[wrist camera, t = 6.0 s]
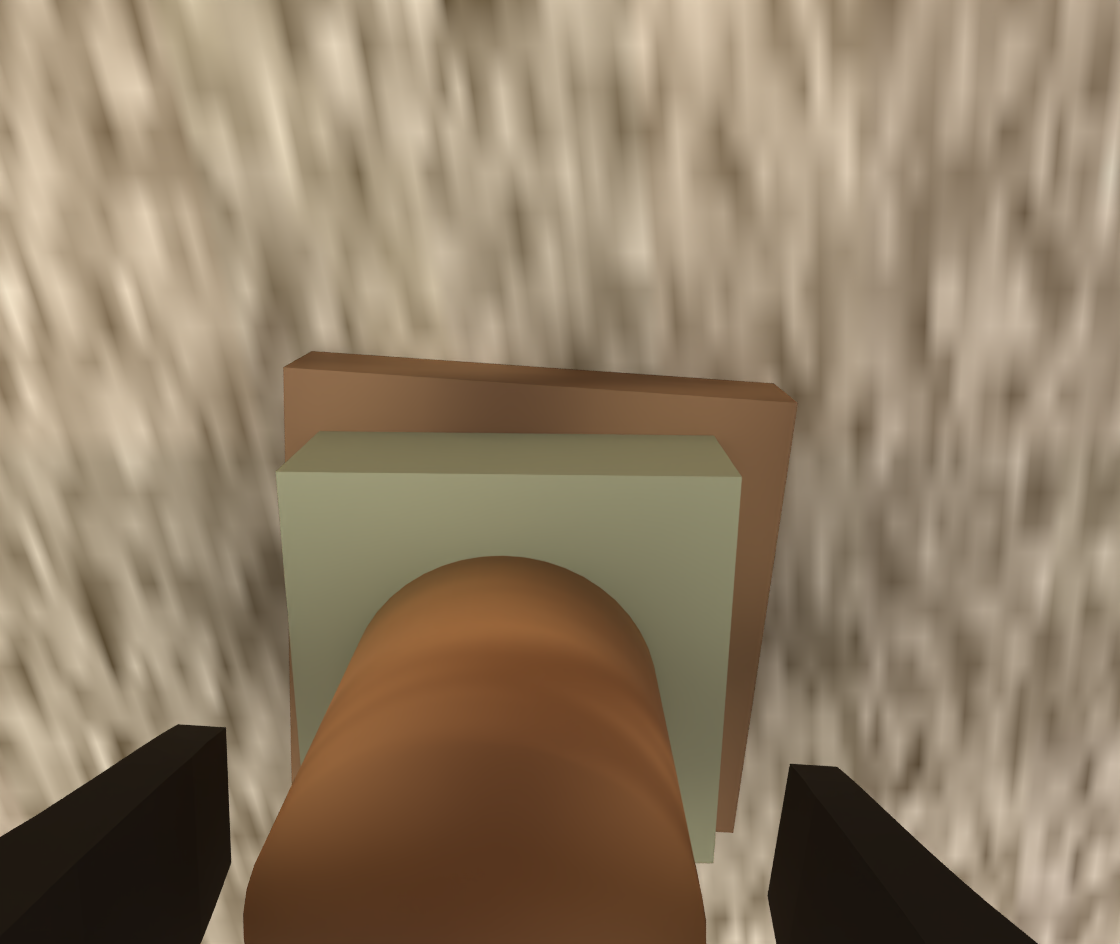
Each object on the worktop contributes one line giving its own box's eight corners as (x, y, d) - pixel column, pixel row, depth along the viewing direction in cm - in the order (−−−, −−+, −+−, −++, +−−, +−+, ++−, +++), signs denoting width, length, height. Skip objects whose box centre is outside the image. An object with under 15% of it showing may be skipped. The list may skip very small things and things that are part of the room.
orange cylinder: (716, 650, 14) (798, 875, 9) (556, 873, 15) (554, 1174, 10) (443, 497, 13) (377, 656, 9) (297, 743, 15) (167, 1003, 10)
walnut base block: (765, 376, 18) (797, 403, 15) (712, 759, 20) (733, 832, 18) (321, 346, 18) (283, 367, 15) (324, 735, 20) (292, 806, 18)
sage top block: (713, 435, 16) (742, 477, 13) (692, 773, 18) (713, 863, 15) (319, 431, 16) (275, 472, 13) (343, 770, 18) (308, 859, 15)
